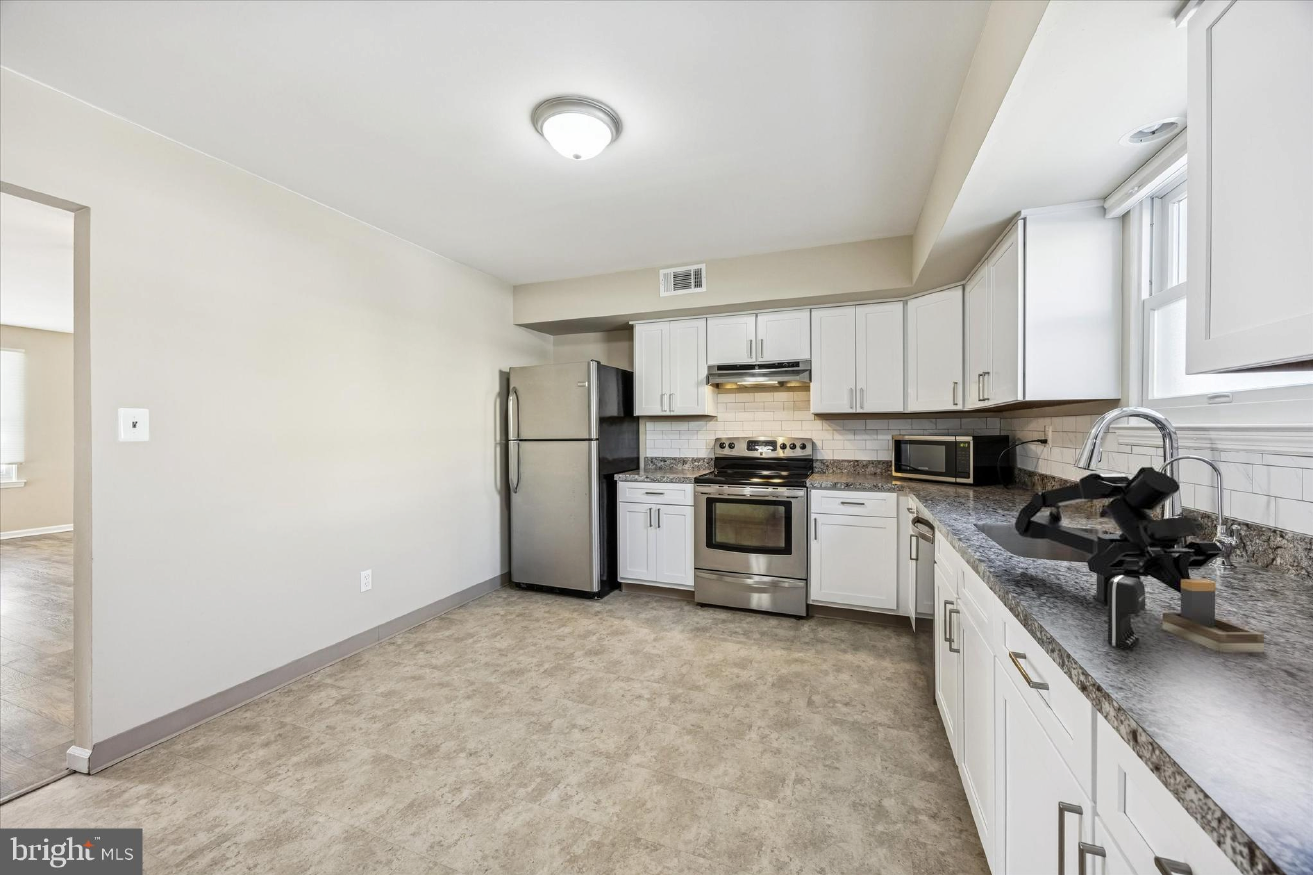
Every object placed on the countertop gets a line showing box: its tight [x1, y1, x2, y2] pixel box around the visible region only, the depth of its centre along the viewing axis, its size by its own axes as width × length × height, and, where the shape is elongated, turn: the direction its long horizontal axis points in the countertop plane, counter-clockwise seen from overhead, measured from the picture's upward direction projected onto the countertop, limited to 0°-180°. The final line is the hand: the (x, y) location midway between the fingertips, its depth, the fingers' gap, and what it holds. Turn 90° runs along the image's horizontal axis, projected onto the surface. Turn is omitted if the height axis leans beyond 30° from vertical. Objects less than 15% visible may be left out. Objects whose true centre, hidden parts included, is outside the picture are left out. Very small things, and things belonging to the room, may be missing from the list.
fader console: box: [1162, 612, 1265, 653], centre depth 91 cm, size 10×7×3 cm
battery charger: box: [1107, 575, 1146, 650], centre depth 89 cm, size 7×4×11 cm, turn 126°
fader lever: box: [1180, 578, 1216, 627], centre depth 93 cm, size 2×4×8 cm, turn 89°
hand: (1190, 596), depth 94 cm, fingers closed, pressing on fader lever
